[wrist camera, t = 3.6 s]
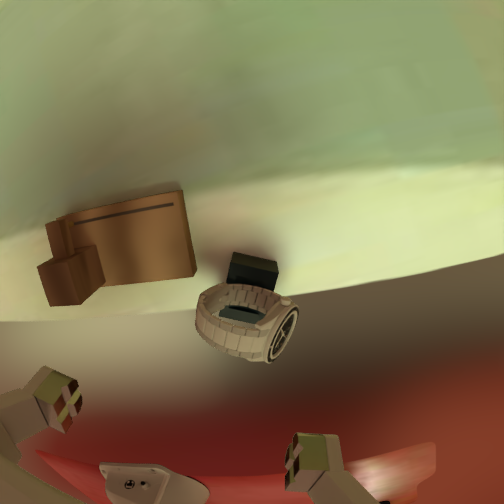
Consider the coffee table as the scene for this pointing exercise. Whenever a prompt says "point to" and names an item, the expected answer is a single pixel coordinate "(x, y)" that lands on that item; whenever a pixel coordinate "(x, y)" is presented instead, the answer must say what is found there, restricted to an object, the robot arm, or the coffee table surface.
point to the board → (138, 238)
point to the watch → (247, 311)
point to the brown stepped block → (69, 268)
